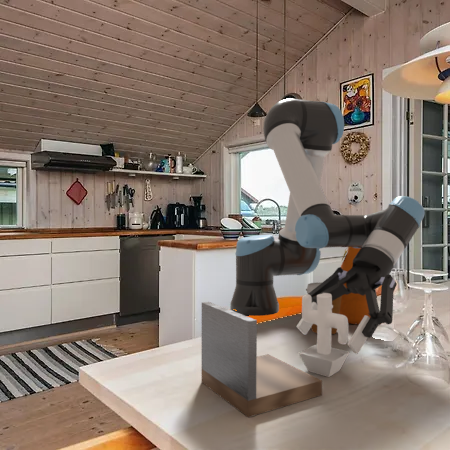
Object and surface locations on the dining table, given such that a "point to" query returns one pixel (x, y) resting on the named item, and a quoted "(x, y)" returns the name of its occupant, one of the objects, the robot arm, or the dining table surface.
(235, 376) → the grey metal bookend
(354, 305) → the wine bottle
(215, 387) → the walnut shelf board
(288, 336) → the dining table surface
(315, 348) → the figurine
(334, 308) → the disposable coffee cup
